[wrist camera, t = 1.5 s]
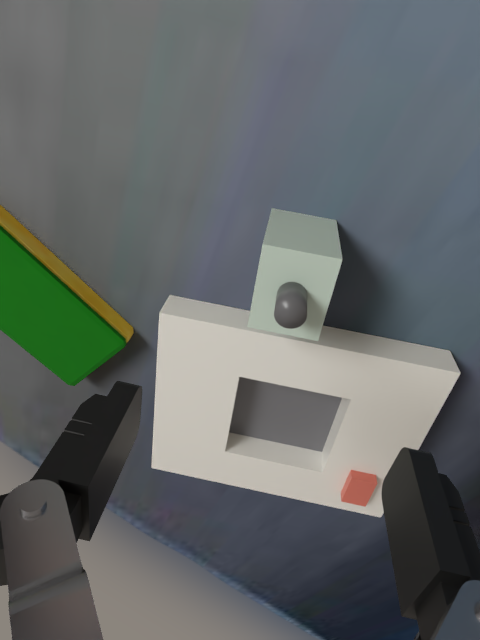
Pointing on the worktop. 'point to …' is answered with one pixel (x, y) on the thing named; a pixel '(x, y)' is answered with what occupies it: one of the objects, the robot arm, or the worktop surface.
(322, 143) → the worktop surface
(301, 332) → the plug
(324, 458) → the socket plate
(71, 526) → the robot arm
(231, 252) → the worktop surface
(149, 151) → the worktop surface
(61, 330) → the dish sponge
